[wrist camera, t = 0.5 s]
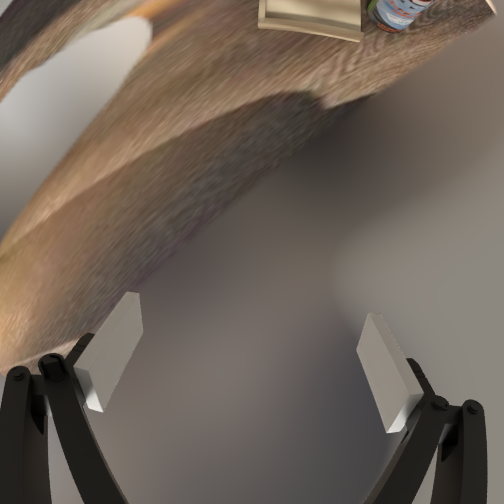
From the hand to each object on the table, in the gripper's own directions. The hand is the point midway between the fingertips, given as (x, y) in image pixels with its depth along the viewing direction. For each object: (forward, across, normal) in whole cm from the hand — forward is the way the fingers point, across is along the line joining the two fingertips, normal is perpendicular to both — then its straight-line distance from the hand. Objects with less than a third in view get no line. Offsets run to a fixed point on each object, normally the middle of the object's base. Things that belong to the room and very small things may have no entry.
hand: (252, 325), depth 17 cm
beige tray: (+28, +5, +32) cm, 43 cm away
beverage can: (+28, +16, +32) cm, 45 cm away
